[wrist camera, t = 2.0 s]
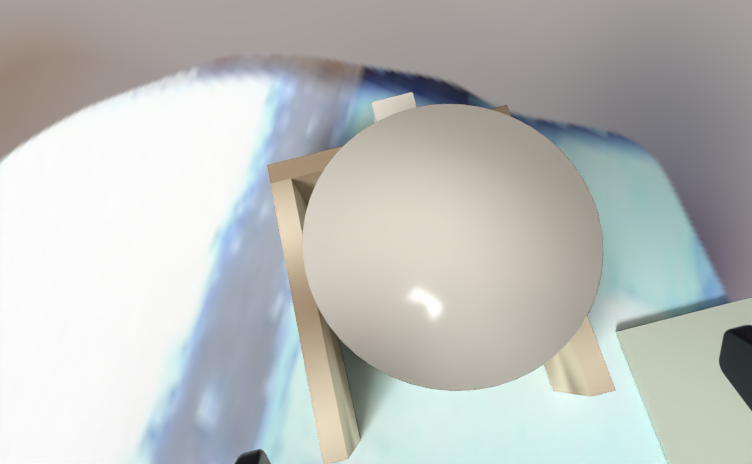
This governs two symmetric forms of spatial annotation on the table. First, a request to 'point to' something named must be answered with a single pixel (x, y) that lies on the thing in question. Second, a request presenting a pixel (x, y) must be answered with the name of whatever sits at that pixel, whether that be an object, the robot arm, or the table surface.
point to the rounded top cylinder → (452, 245)
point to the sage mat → (691, 385)
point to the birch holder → (321, 345)
